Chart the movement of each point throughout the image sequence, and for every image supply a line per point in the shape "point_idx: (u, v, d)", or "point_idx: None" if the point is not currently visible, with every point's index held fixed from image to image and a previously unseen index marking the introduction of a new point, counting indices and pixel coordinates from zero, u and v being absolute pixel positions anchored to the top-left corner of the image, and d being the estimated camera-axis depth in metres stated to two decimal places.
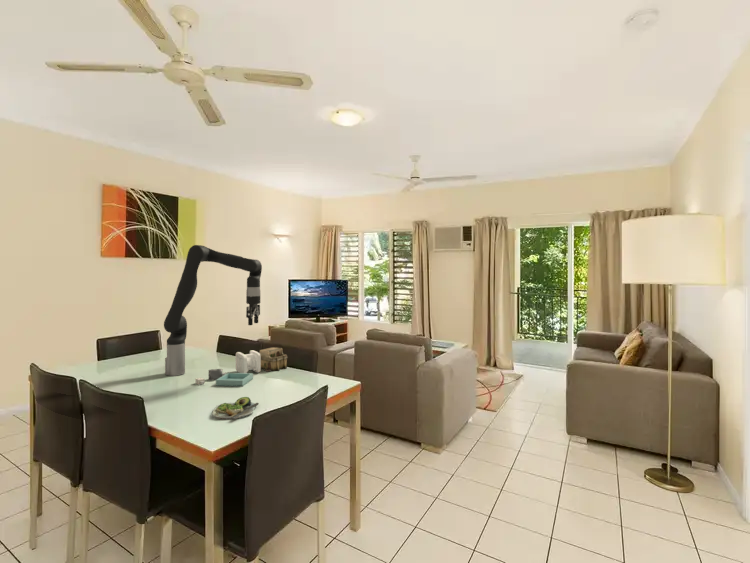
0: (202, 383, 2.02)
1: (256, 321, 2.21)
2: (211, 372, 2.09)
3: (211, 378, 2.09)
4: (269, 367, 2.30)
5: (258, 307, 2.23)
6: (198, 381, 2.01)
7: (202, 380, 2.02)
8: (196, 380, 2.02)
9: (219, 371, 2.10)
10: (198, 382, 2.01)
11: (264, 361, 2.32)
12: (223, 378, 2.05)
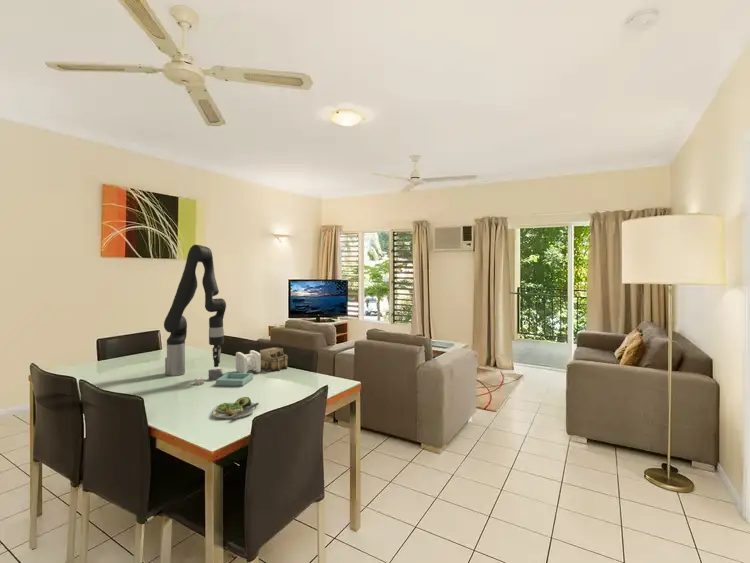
0: (202, 383, 2.02)
1: None
2: (211, 372, 2.09)
3: (211, 378, 2.09)
4: (270, 367, 2.30)
5: None
6: (198, 381, 2.01)
7: (202, 380, 2.02)
8: (196, 380, 2.02)
9: (219, 371, 2.10)
10: (198, 382, 2.01)
11: (265, 361, 2.32)
12: (223, 378, 2.05)
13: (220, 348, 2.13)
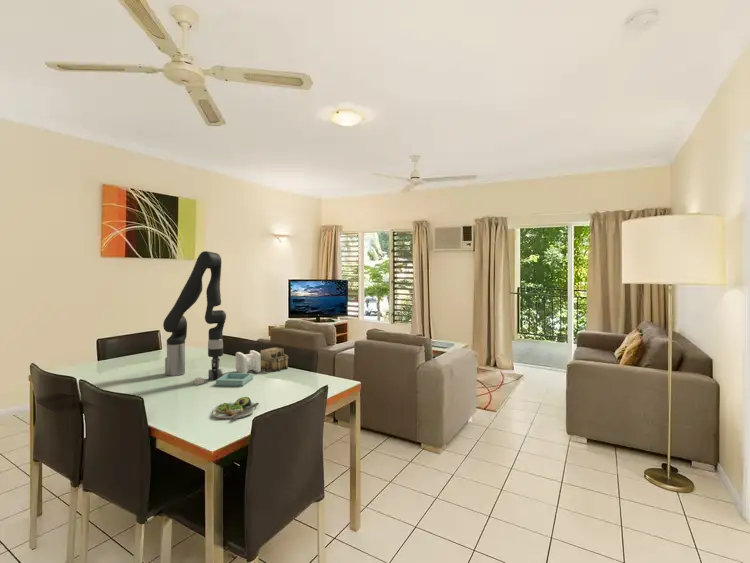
0: (201, 383, 2.02)
1: None
2: (211, 372, 2.09)
3: (211, 378, 2.09)
4: (270, 367, 2.29)
5: None
6: (197, 381, 2.01)
7: (201, 380, 2.02)
8: (195, 380, 2.03)
9: (219, 371, 2.10)
10: (197, 382, 2.02)
11: (265, 361, 2.31)
12: (223, 378, 2.05)
13: (219, 359, 2.12)
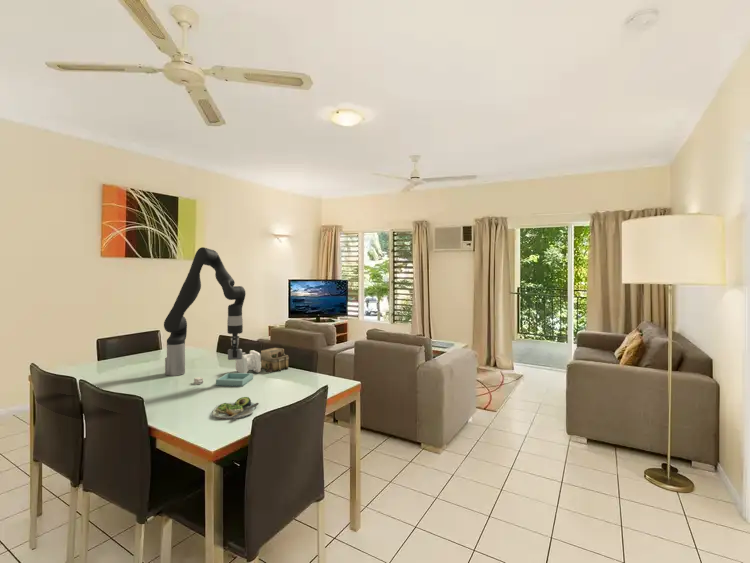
0: (201, 382, 2.03)
1: None
2: (231, 351, 2.03)
3: (231, 358, 2.03)
4: (271, 368, 2.29)
5: None
6: (197, 380, 2.02)
7: (201, 380, 2.03)
8: (195, 379, 2.03)
9: (239, 351, 2.04)
10: (197, 381, 2.02)
11: (265, 362, 2.31)
12: (223, 378, 2.05)
13: (238, 337, 2.06)
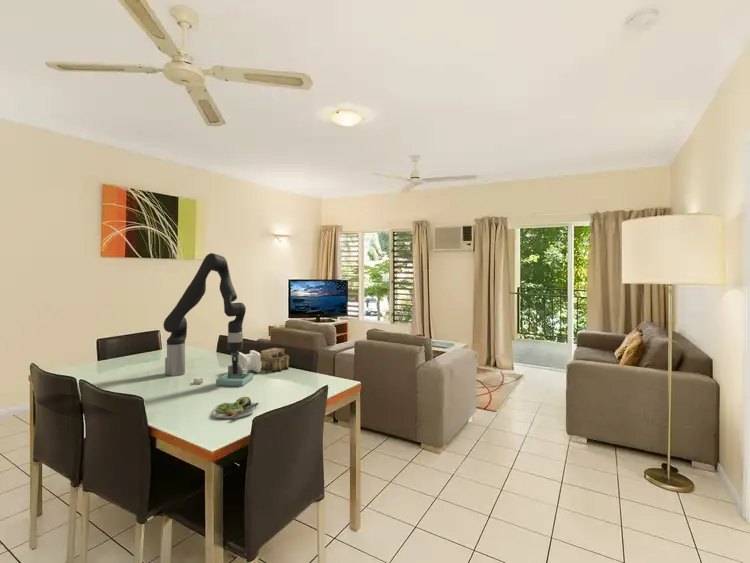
0: (200, 382, 2.03)
1: None
2: (231, 368, 2.03)
3: (231, 374, 2.03)
4: (271, 368, 2.28)
5: None
6: (196, 380, 2.02)
7: (200, 379, 2.03)
8: (194, 379, 2.03)
9: (239, 367, 2.05)
10: (196, 381, 2.02)
11: (266, 362, 2.30)
12: (223, 378, 2.05)
13: None
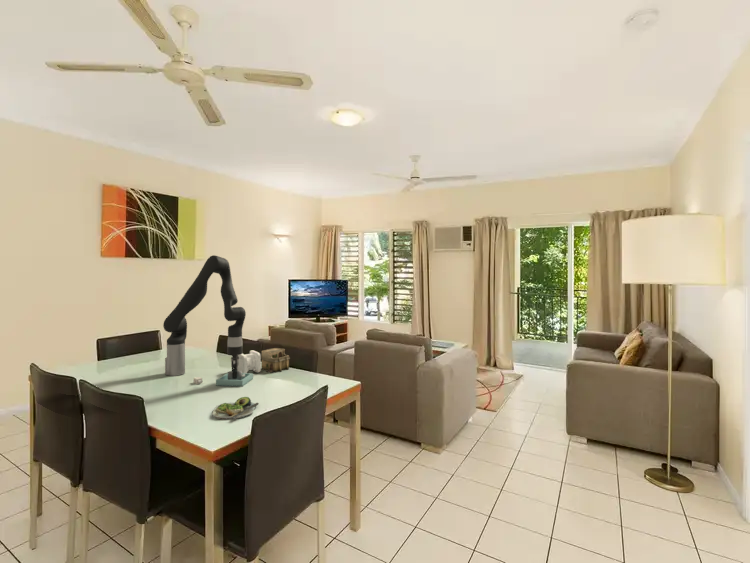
0: (200, 382, 2.03)
1: None
2: (231, 374, 2.03)
3: None
4: (271, 368, 2.28)
5: (232, 362, 2.00)
6: (196, 380, 2.02)
7: (200, 379, 2.03)
8: (194, 379, 2.03)
9: (239, 373, 2.04)
10: (196, 381, 2.02)
11: (266, 362, 2.30)
12: (223, 378, 2.05)
13: (238, 358, 2.06)
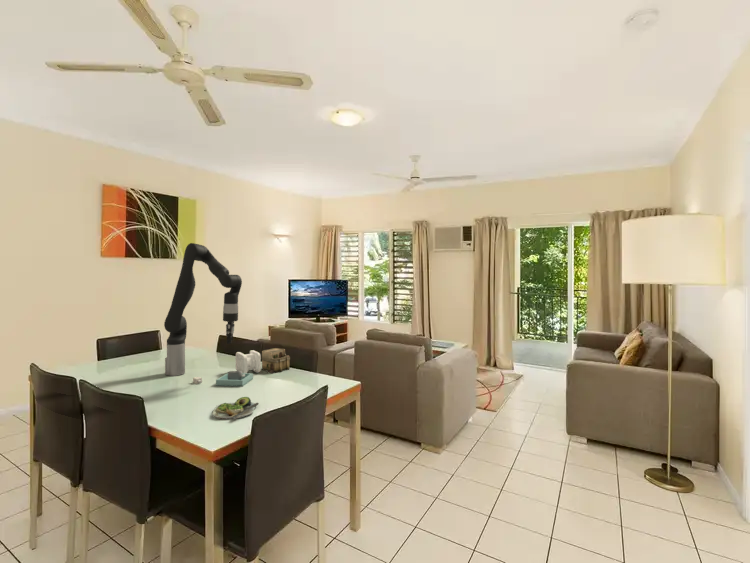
0: (200, 382, 2.03)
1: None
2: (231, 374, 2.03)
3: None
4: (272, 368, 2.28)
5: (227, 327, 2.02)
6: (196, 380, 2.03)
7: (200, 379, 2.03)
8: (194, 379, 2.04)
9: (239, 373, 2.04)
10: (196, 381, 2.03)
11: (267, 362, 2.29)
12: (223, 378, 2.05)
13: (234, 325, 2.09)
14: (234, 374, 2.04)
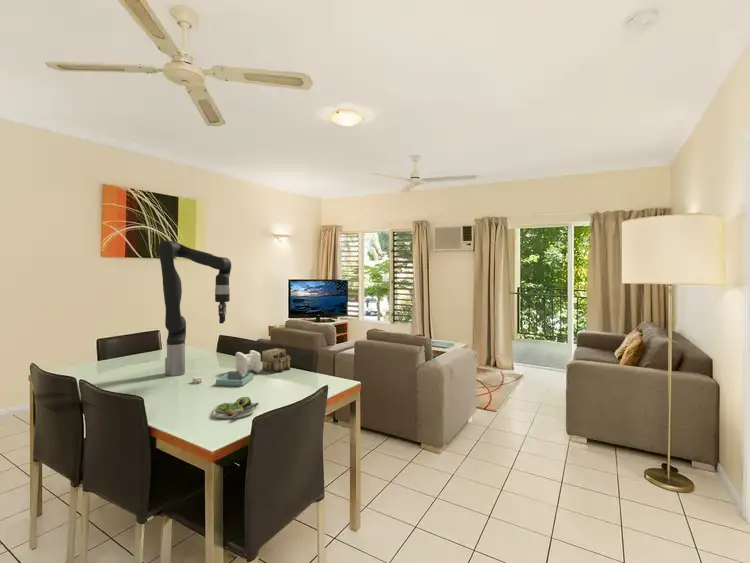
0: (199, 382, 2.04)
1: None
2: (231, 374, 2.03)
3: None
4: (272, 368, 2.27)
5: None
6: (195, 380, 2.03)
7: (199, 379, 2.04)
8: (193, 379, 2.04)
9: (239, 373, 2.04)
10: (195, 381, 2.03)
11: (267, 362, 2.29)
12: (223, 378, 2.05)
13: None
14: (234, 374, 2.04)
